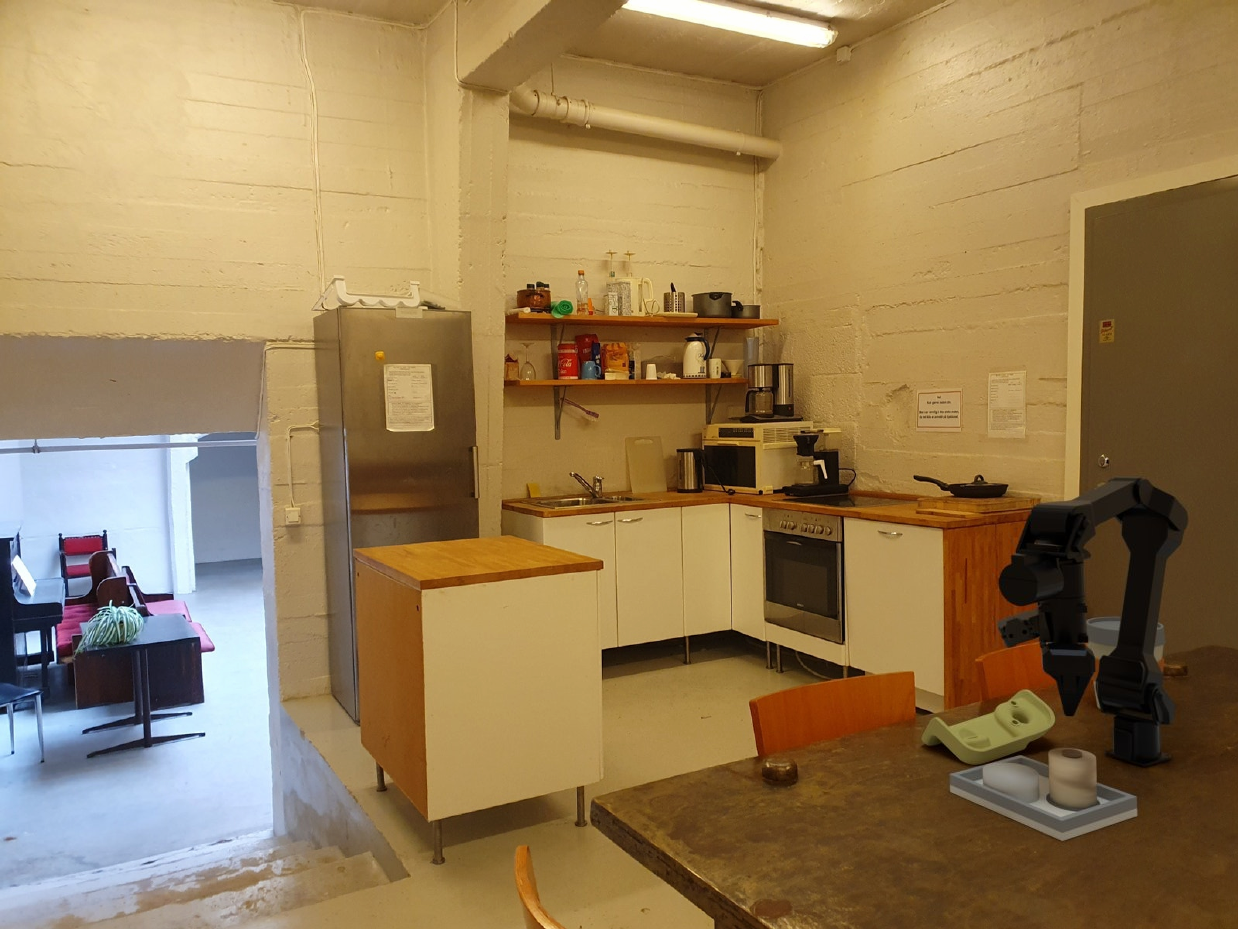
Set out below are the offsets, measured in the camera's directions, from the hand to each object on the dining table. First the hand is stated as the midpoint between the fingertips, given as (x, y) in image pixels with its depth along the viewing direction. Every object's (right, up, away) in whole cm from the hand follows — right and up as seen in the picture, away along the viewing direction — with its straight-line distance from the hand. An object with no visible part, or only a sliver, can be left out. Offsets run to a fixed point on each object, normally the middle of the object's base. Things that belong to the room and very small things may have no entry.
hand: (1066, 705), depth 127 cm
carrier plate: (-6, -12, -4) cm, 14 cm away
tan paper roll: (-3, -11, -7) cm, 13 cm away
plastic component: (-3, -12, +17) cm, 21 cm away
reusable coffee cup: (+27, -10, +33) cm, 44 cm away
